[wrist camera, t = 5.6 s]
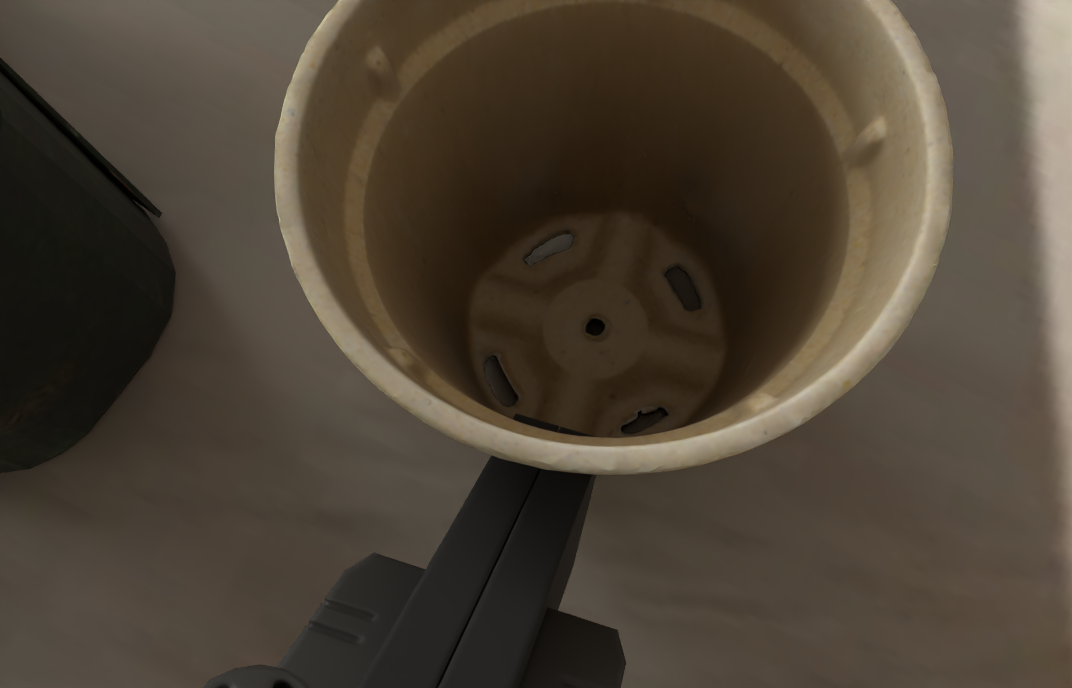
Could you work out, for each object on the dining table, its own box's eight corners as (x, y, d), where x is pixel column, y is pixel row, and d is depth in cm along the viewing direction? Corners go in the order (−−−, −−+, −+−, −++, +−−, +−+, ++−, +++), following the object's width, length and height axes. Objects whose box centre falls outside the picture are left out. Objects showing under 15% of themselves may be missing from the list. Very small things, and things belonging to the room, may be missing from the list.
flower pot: (884, 305, 20) (1089, 77, 12) (638, 638, 18) (683, 636, 10) (566, 94, 22) (556, -218, 14) (315, 370, 20) (136, 189, 12)
